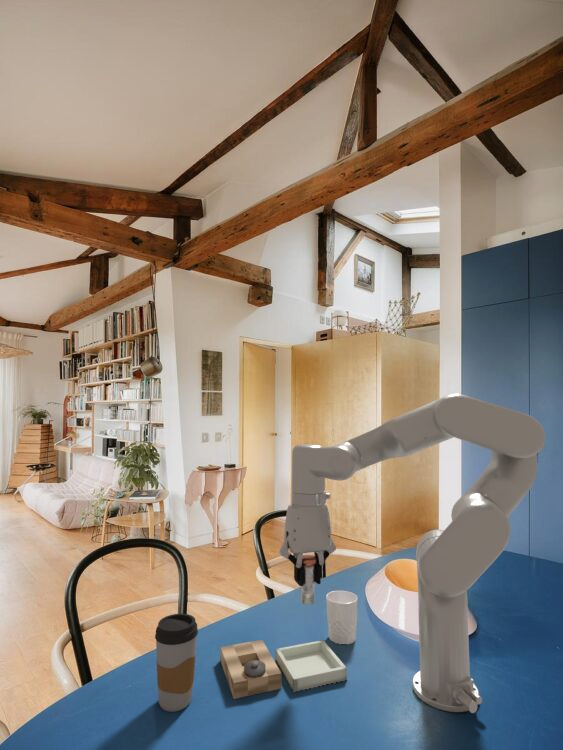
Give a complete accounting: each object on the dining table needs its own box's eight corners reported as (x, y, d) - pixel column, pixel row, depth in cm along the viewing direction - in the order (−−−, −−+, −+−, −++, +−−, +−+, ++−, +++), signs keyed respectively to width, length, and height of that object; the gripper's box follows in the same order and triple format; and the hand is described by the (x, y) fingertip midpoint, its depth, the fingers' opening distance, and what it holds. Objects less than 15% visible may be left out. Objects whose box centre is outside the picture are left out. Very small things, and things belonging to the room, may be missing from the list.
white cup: (357, 647, 105) (357, 604, 106) (325, 644, 106) (324, 602, 107) (358, 631, 113) (357, 591, 113) (328, 628, 114) (327, 589, 115)
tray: (347, 680, 92) (346, 668, 92) (293, 692, 88) (293, 679, 88) (323, 651, 103) (323, 640, 104) (275, 660, 100) (275, 649, 100)
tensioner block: (281, 688, 90) (281, 664, 90) (233, 698, 86) (233, 674, 87) (262, 652, 103) (262, 632, 103) (220, 660, 99) (220, 639, 100)
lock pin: (319, 604, 96) (319, 559, 97) (302, 606, 95) (303, 561, 96) (312, 597, 100) (312, 554, 100) (296, 599, 98) (297, 555, 99)
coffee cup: (179, 683, 91) (180, 608, 93) (205, 699, 86) (206, 620, 87) (144, 703, 85) (146, 623, 86) (170, 722, 80) (172, 637, 81)
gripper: (334, 494, 105) (334, 573, 104) (268, 498, 100) (267, 581, 98) (348, 500, 98) (348, 585, 97) (279, 505, 93) (278, 594, 91)
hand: (308, 582), depth 98 cm, fingers closed on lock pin, 3 cm apart
